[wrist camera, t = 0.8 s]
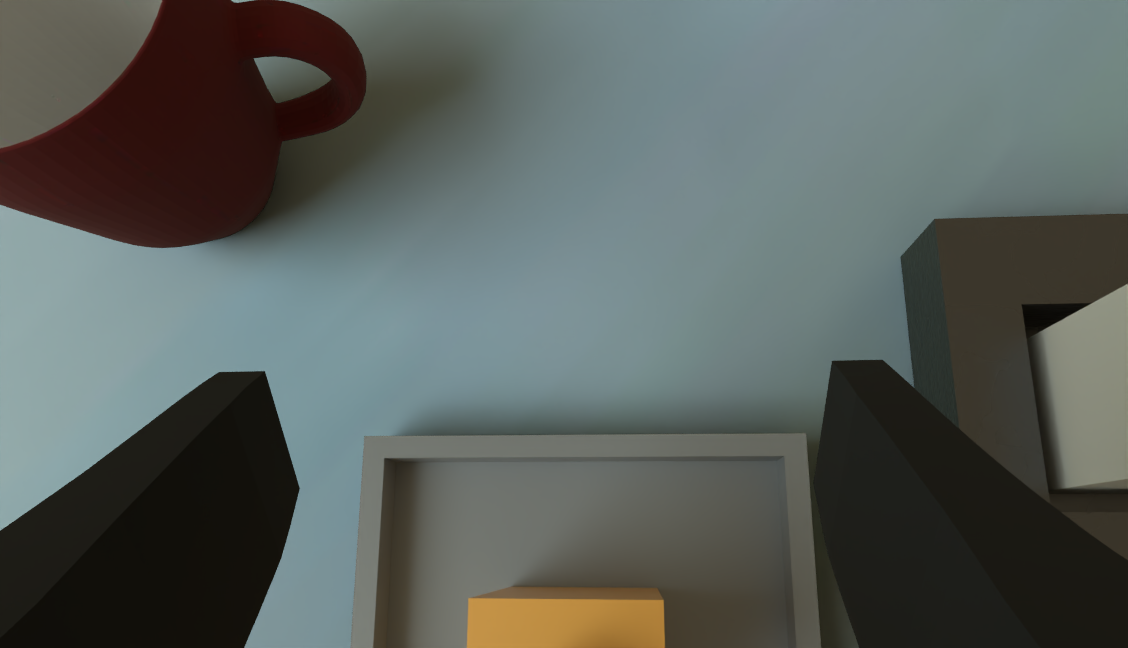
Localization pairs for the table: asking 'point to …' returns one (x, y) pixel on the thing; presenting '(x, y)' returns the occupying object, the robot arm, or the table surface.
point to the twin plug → (1084, 397)
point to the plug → (567, 618)
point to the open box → (1009, 332)
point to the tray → (588, 532)
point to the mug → (158, 111)
